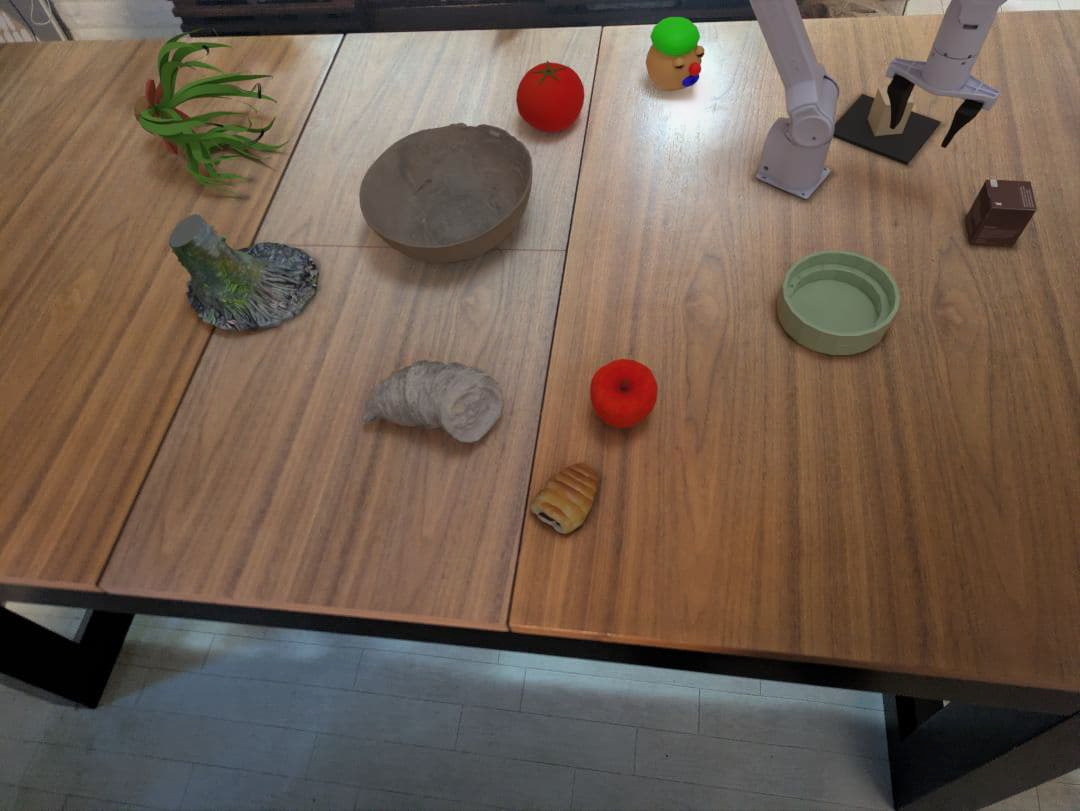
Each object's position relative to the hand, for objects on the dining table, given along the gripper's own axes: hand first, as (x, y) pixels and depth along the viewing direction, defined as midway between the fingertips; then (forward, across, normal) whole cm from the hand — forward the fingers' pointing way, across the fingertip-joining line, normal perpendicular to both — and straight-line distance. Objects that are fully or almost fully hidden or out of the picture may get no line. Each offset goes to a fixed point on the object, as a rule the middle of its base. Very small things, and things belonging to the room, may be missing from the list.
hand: (919, 134), depth 103 cm
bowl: (+10, +54, +46) cm, 72 cm away
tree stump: (+10, +71, +76) cm, 105 cm away
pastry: (+10, +8, +74) cm, 75 cm away
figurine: (+10, +44, -3) cm, 45 cm away
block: (+10, +8, -12) cm, 18 cm away
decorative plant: (+10, +104, +58) cm, 120 cm away
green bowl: (+10, -4, +28) cm, 30 cm away
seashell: (+10, +30, +75) cm, 82 cm away
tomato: (+10, +57, +17) cm, 61 cm away
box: (+11, -15, +1) cm, 18 cm away
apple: (+10, +10, +59) cm, 61 cm away
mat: (+10, +8, -12) cm, 18 cm away
